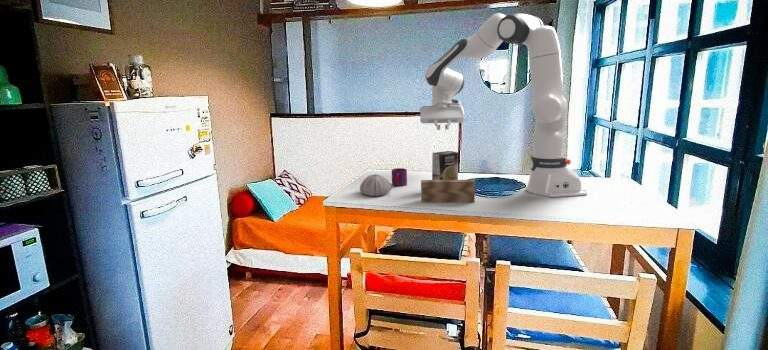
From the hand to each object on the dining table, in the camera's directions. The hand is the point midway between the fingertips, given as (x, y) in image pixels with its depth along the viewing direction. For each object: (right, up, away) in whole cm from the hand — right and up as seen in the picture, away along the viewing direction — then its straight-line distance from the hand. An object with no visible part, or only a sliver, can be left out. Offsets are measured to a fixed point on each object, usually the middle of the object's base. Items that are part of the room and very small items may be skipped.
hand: (442, 129), depth 181 cm
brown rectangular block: (-2, -31, -28) cm, 42 cm away
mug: (-20, -26, -3) cm, 33 cm away
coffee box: (-1, -27, -13) cm, 30 cm away
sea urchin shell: (-30, -29, -14) cm, 44 cm away
